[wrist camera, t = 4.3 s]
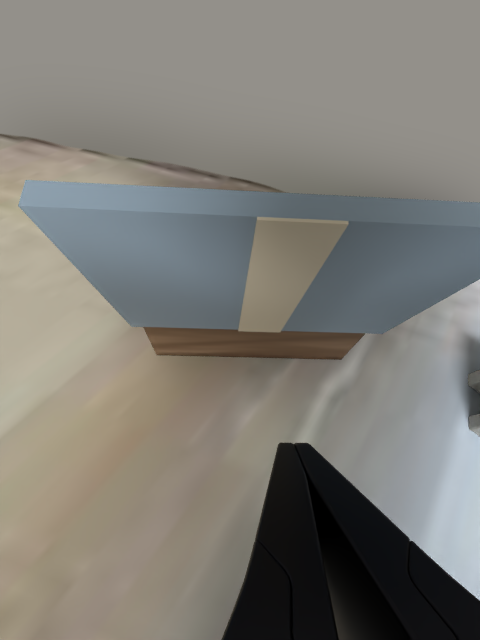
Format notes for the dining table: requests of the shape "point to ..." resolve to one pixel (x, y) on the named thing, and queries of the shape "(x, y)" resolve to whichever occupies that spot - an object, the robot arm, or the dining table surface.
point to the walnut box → (251, 343)
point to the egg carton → (476, 381)
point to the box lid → (259, 254)
